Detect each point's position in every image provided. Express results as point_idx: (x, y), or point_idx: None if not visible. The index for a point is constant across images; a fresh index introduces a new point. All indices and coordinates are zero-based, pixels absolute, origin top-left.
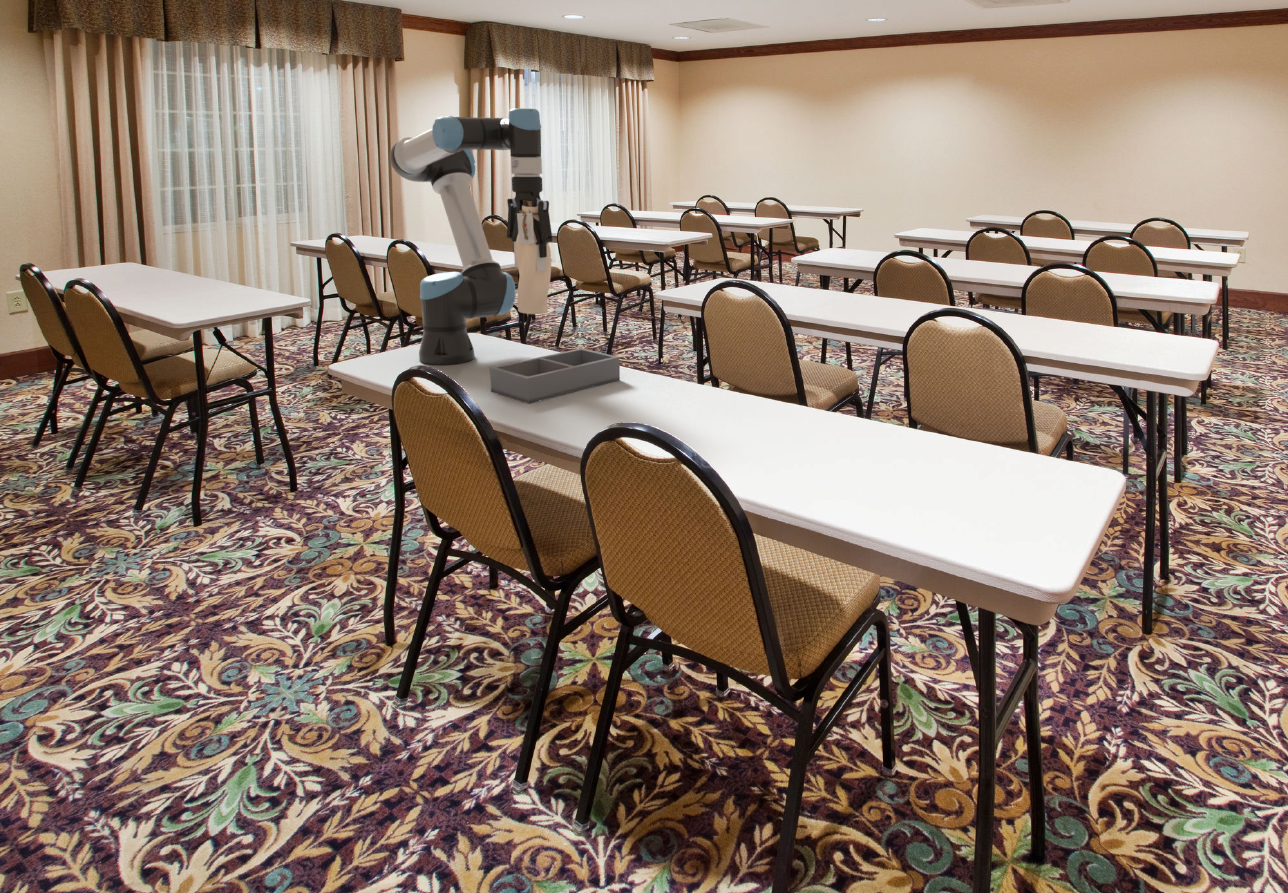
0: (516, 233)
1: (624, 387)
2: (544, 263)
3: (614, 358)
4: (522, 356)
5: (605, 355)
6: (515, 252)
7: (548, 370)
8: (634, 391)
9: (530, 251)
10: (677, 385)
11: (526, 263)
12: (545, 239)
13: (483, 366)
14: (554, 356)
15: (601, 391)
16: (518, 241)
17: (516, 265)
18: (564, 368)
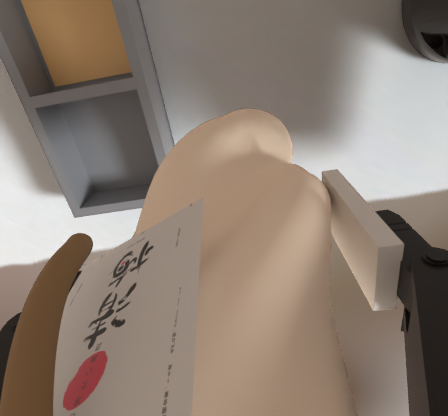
0: (413, 309)
1: (45, 179)
2: None
3: (69, 206)
4: (349, 150)
5: (98, 205)
6: (353, 205)
7: (109, 81)
8: (16, 179)
9: (142, 218)
10: (28, 245)
11: (165, 163)
12: (3, 332)
13: (337, 32)
14: (147, 124)
15: (34, 135)
16: (257, 221)
17: (324, 175)
18: (19, 77)
